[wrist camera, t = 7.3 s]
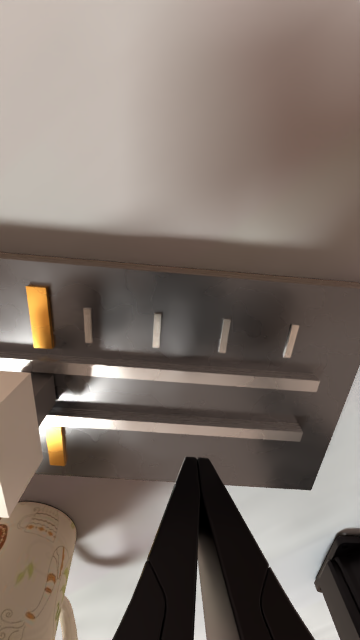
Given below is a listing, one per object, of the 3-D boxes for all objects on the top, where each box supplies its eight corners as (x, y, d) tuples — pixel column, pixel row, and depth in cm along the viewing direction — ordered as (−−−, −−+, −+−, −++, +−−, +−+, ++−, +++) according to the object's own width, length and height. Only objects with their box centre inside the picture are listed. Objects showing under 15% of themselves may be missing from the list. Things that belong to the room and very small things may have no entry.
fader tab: (54, 347, 11) (-20, 420, 7) (62, 425, 13) (6, 523, 9) (9, 343, 11) (-92, 416, 7) (23, 422, 13) (-53, 520, 9)
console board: (363, 283, 12) (399, 295, 10) (299, 467, 16) (316, 500, 14) (-49, 248, 11) (-96, 253, 10) (-3, 448, 16) (-29, 480, 14)
